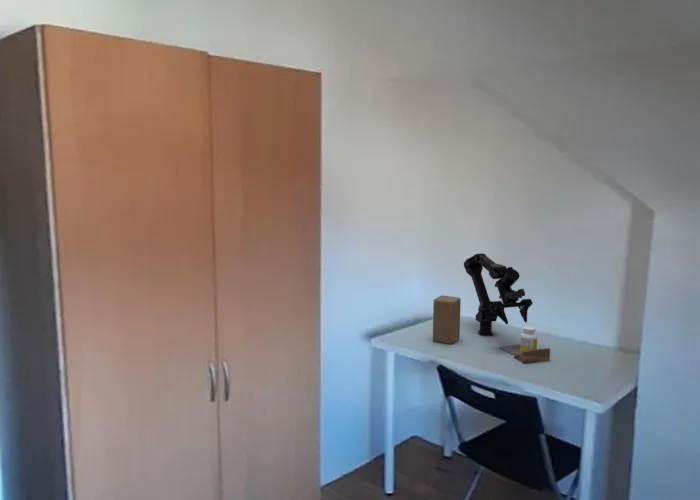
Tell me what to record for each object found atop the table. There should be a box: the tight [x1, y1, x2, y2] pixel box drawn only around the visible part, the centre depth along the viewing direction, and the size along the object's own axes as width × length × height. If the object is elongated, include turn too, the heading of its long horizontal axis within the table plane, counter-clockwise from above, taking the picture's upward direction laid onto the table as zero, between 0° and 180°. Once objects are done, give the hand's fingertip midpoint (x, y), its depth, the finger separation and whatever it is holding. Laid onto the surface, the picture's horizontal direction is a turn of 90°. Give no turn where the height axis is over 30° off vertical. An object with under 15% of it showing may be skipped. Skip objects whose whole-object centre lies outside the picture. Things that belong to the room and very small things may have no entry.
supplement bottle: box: [519, 325, 538, 355], centre depth 253 cm, size 7×7×13 cm
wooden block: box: [432, 295, 461, 345], centre depth 275 cm, size 10×10×20 cm
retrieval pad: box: [499, 344, 521, 356], centre depth 263 cm, size 10×10×1 cm
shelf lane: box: [513, 347, 551, 364], centre depth 251 cm, size 7×12×5 cm, turn 108°
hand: (516, 323), depth 259 cm, fingers open, 9 cm apart
